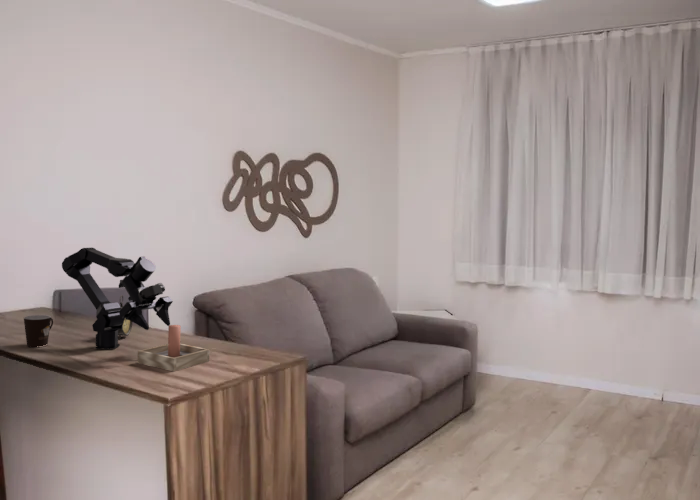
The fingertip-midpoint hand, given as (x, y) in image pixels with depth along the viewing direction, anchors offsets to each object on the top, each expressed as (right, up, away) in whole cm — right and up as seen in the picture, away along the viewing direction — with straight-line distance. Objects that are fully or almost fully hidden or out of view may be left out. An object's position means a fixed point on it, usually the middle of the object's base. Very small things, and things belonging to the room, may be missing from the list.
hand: (158, 327), depth 207 cm
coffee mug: (-45, -8, +13) cm, 47 cm away
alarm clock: (-23, -8, +29) cm, 38 cm away
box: (+6, -11, -3) cm, 13 cm away
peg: (+6, -11, -3) cm, 13 cm away
